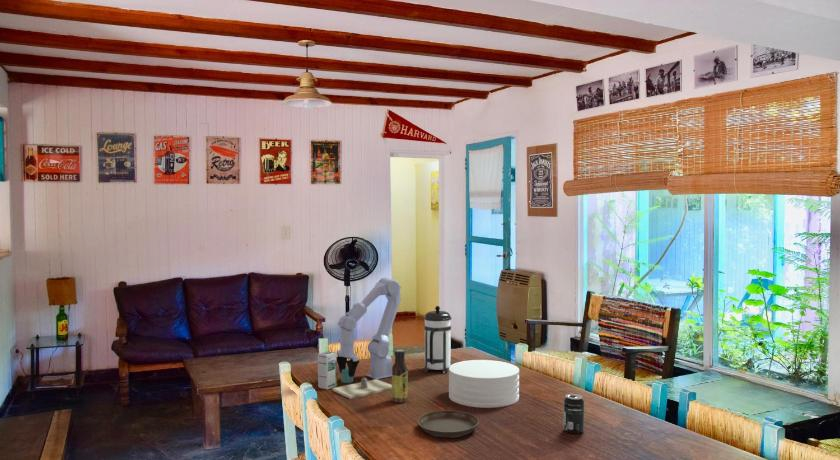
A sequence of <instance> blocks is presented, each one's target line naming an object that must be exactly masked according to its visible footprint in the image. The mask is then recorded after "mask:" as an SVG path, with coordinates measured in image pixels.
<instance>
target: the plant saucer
mask: <svg viewBox="0 0 840 460" xmlns="http://www.w3.org/2000/svg"><path fill="white" fill-rule="evenodd" d="M417 423H418V425H419V427H420V428H421V430H423V431H424V432H425V433H426V434H428V435H431V436H433V437H439V438H443V439H444V438H445V439H446V438H451V439H452V438H453V439H454V438H460V437H465V436H466V435H469V434H471V433H472V432H473V431H474V430H475V429H476V428H477V426H478V424H479V419H478V417H477V416H475V415H473V414H472V413H469V412H465V411H460V410H437V411H431V412H427V413H426V414H422V415H421V416H420V417H419V418H418V420H417Z"/></svg>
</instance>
